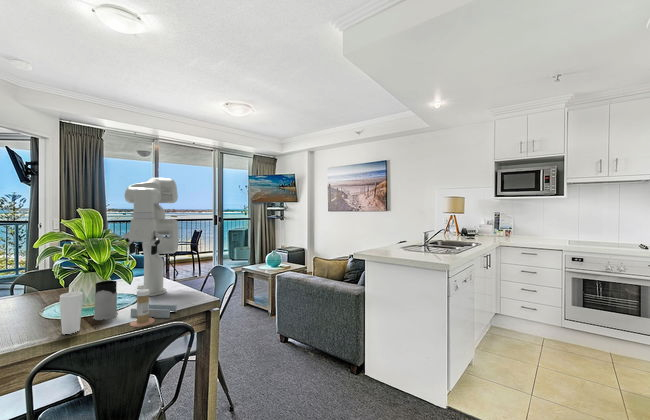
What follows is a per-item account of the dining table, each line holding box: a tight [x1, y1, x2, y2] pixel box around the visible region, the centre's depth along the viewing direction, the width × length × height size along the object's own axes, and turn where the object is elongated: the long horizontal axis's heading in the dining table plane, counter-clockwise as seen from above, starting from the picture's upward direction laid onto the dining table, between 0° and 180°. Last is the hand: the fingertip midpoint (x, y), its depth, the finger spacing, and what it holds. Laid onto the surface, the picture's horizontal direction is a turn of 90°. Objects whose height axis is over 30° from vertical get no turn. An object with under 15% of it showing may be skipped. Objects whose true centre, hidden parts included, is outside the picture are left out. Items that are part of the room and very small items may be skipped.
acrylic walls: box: [130, 303, 178, 319], centre depth 132 cm, size 17×7×4 cm, turn 89°
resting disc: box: [129, 317, 156, 328], centre depth 123 cm, size 9×9×1 cm
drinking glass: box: [59, 291, 84, 336], centre depth 112 cm, size 7×7×15 cm
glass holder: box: [92, 280, 119, 321], centre depth 131 cm, size 9×14×15 cm, turn 20°
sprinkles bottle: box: [136, 289, 150, 323], centre depth 123 cm, size 5×5×13 cm
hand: (143, 253), depth 131 cm, fingers open, 9 cm apart
